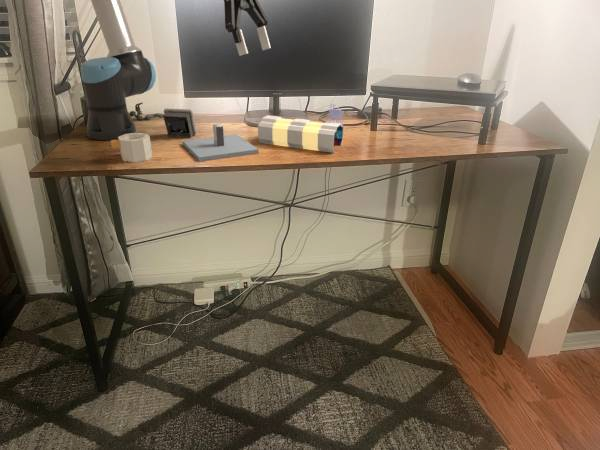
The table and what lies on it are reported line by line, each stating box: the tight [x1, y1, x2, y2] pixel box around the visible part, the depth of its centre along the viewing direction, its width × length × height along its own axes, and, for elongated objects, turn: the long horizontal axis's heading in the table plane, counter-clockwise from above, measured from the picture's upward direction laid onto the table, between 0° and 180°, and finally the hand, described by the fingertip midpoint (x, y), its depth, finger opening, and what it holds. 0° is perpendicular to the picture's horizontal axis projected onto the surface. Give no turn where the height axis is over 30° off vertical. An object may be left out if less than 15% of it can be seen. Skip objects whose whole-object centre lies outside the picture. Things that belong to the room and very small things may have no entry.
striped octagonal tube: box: [257, 103, 345, 154], centre depth 139 cm, size 25×10×13 cm, turn 69°
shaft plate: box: [181, 123, 259, 162], centre depth 134 cm, size 18×18×7 cm
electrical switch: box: [163, 107, 197, 139], centre depth 145 cm, size 9×5×9 cm, turn 84°
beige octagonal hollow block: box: [110, 132, 153, 163], centre depth 125 cm, size 8×10×6 cm
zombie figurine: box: [128, 102, 165, 122], centre depth 165 cm, size 5×7×15 cm
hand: (255, 51), depth 133 cm, fingers open, 13 cm apart
